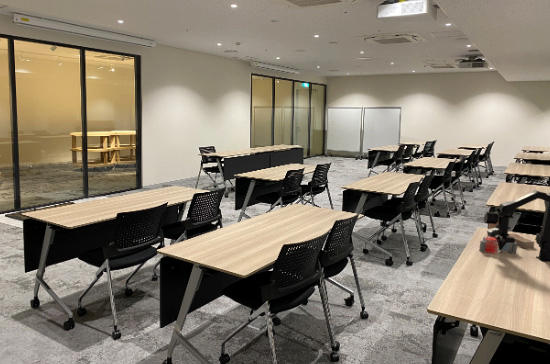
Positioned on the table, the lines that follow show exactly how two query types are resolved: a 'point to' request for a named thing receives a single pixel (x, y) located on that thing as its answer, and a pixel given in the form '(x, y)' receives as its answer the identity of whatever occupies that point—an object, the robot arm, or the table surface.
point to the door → (505, 247)
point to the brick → (522, 241)
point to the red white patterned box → (491, 245)
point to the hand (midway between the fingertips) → (500, 249)
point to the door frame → (482, 243)
